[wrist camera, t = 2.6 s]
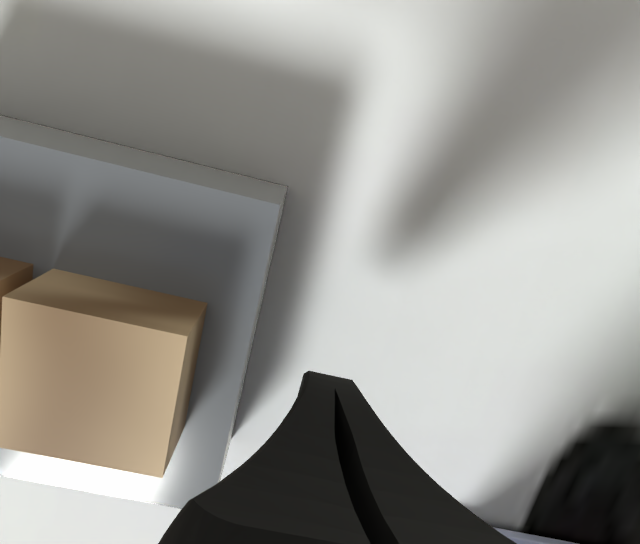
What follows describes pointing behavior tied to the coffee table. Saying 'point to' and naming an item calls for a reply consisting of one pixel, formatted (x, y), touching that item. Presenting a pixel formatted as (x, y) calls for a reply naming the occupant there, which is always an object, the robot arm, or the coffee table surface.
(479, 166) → the coffee table surface
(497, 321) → the coffee table surface
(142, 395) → the oak tile
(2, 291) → the oak tile
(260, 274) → the grey flat block
